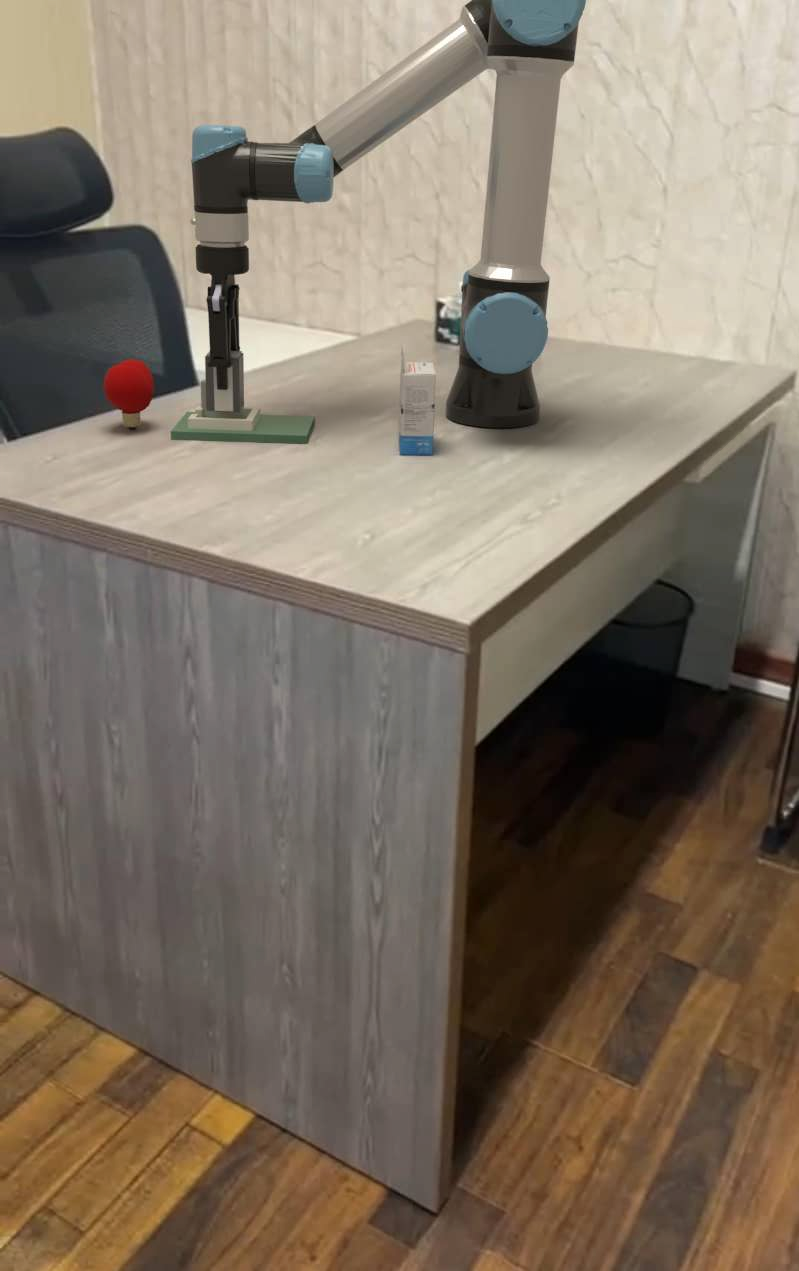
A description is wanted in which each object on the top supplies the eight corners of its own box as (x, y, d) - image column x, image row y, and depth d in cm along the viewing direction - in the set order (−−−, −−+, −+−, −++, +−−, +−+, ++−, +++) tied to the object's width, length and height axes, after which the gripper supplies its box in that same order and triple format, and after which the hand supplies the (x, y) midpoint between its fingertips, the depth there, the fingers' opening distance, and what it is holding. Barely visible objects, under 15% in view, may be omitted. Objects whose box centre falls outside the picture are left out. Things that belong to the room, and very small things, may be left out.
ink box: (434, 456, 166) (438, 352, 160) (399, 455, 166) (402, 351, 160) (430, 440, 174) (434, 340, 168) (397, 439, 174) (400, 340, 168)
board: (314, 423, 181) (314, 406, 180) (306, 443, 170) (306, 425, 169) (187, 419, 182) (186, 402, 181) (171, 439, 171) (170, 421, 170)
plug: (244, 406, 177) (243, 351, 173) (239, 412, 173) (239, 356, 170) (204, 404, 177) (203, 349, 173) (199, 410, 173) (198, 354, 170)
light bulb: (141, 438, 171) (137, 370, 167) (97, 435, 172) (91, 367, 168) (165, 423, 179) (161, 358, 175) (123, 420, 180) (118, 355, 176)
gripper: (206, 236, 173) (212, 393, 183) (183, 249, 157) (190, 419, 167) (257, 238, 173) (259, 394, 182) (238, 251, 157) (242, 421, 167)
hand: (226, 406), depth 175 cm, fingers closed on plug, 4 cm apart
